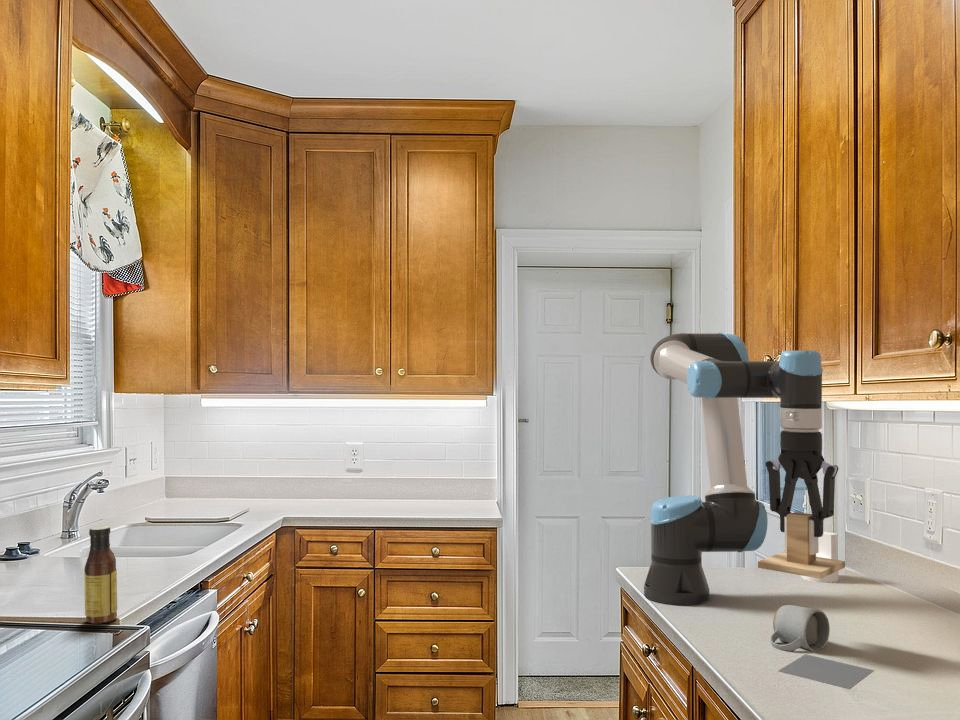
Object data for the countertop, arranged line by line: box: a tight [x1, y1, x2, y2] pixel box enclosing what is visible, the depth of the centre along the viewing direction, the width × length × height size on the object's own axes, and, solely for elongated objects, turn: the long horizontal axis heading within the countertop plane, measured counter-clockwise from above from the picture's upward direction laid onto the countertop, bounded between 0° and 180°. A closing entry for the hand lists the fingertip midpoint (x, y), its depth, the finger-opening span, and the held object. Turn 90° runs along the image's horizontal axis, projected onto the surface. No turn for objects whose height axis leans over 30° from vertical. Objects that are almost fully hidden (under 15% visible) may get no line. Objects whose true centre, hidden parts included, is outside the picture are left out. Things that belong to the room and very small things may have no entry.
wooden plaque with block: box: [757, 511, 846, 579], centre depth 156 cm, size 12×12×10 cm
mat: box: [777, 654, 875, 690], centre depth 141 cm, size 12×12×1 cm
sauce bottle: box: [83, 525, 118, 625], centre depth 172 cm, size 6×6×20 cm
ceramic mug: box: [769, 604, 831, 652], centre depth 155 cm, size 11×8×8 cm
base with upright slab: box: [800, 531, 839, 584], centre depth 210 cm, size 9×9×12 cm
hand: (801, 551), depth 156 cm, fingers closed on wooden plaque with block, 4 cm apart
